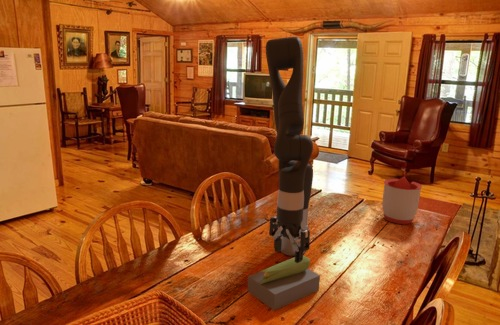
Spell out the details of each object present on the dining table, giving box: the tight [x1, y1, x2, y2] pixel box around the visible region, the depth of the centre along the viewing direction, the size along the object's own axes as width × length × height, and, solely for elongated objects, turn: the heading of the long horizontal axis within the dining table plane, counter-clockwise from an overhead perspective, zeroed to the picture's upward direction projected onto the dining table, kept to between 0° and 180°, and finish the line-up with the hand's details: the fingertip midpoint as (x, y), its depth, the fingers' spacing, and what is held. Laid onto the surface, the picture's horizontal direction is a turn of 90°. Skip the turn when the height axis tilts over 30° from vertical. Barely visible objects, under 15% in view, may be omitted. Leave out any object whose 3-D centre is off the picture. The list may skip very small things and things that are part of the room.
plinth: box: [247, 267, 321, 311], centre depth 121 cm, size 18×12×5 cm, turn 128°
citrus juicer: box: [381, 176, 423, 225], centre depth 180 cm, size 16×17×20 cm
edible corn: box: [259, 255, 311, 284], centre depth 120 cm, size 5×20×5 cm
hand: (287, 256), depth 119 cm, fingers open, 8 cm apart
